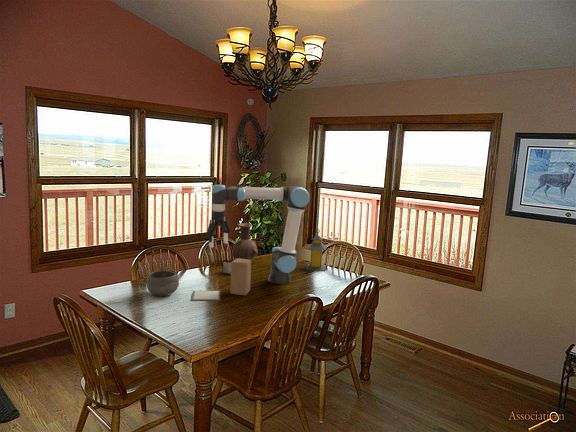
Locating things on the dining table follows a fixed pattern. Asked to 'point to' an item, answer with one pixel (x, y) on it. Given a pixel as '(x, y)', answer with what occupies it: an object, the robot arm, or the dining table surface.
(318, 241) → the lantern
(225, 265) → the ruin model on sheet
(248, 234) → the vase
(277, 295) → the dining table surface
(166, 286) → the bowl
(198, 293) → the mat
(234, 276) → the wooden block
